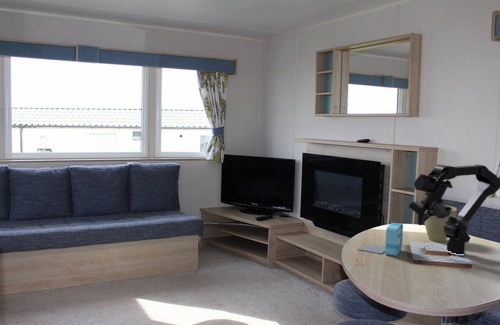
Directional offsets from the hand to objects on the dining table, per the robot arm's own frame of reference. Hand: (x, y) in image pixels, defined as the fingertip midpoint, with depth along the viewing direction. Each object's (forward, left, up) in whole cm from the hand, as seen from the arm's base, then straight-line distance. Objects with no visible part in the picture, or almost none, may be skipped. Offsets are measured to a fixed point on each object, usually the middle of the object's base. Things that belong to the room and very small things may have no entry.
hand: (419, 224), depth 203 cm
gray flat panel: (+17, +8, -12) cm, 22 cm away
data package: (+8, +8, -12) cm, 17 cm away
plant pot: (-4, -26, -12) cm, 29 cm away
